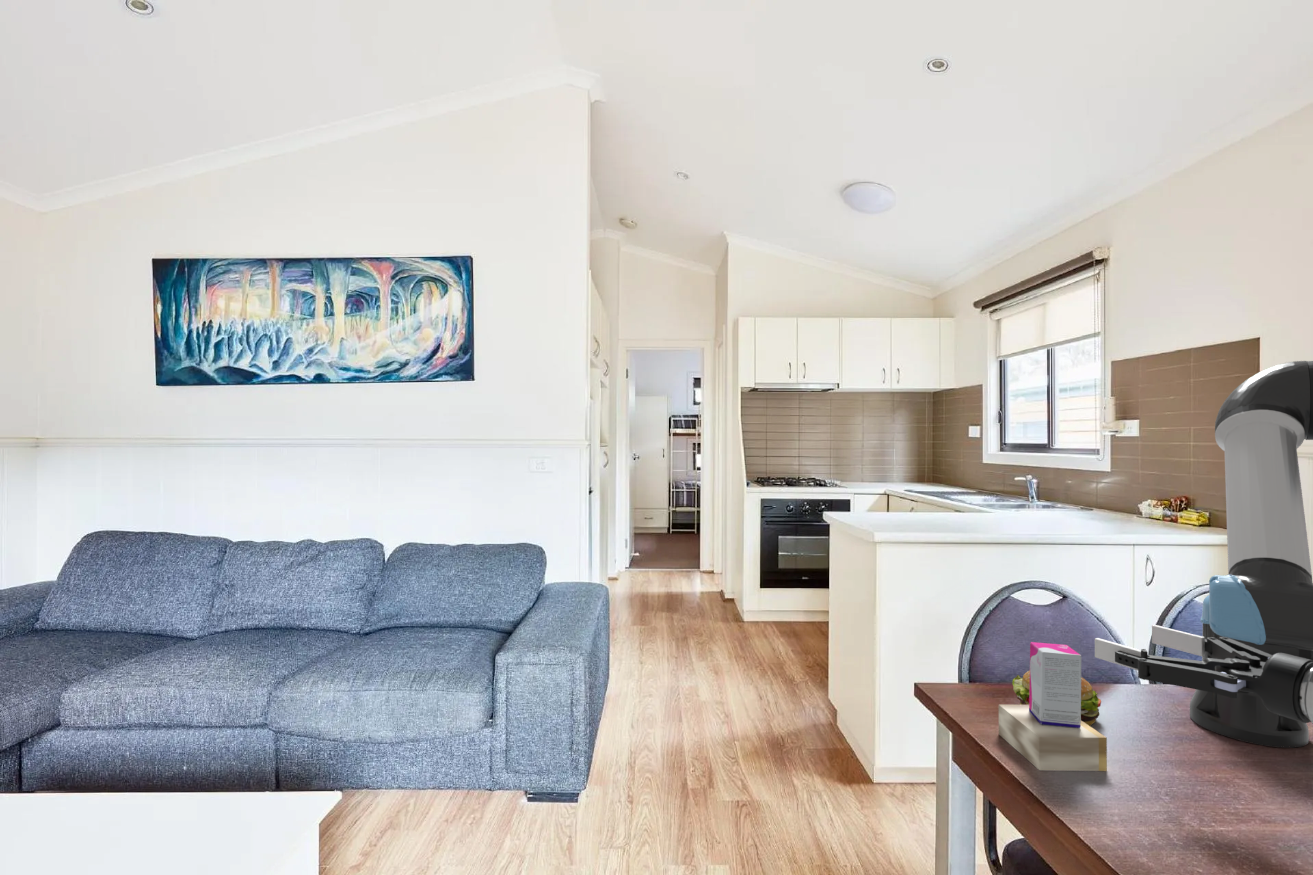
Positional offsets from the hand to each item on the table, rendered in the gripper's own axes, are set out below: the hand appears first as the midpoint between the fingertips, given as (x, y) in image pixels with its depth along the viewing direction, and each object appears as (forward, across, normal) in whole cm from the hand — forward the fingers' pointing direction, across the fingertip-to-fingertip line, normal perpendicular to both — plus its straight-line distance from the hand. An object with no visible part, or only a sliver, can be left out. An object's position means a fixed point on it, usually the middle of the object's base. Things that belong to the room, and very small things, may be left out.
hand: (1125, 640), depth 96 cm
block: (+9, -5, -20) cm, 22 cm away
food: (+18, +10, -21) cm, 29 cm away
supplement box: (+9, -4, -15) cm, 18 cm away
